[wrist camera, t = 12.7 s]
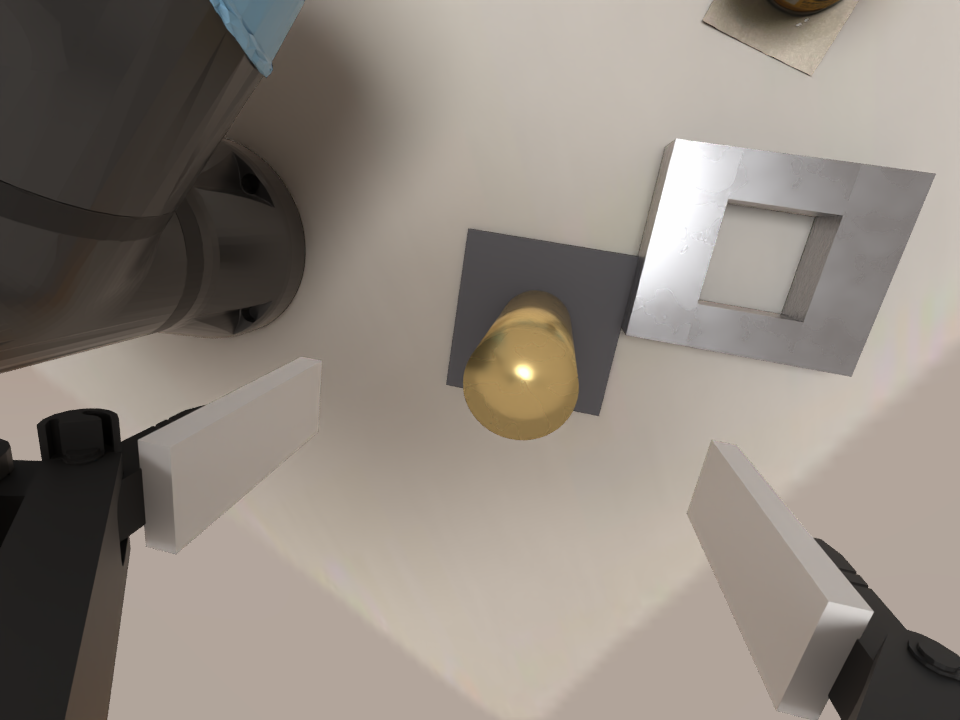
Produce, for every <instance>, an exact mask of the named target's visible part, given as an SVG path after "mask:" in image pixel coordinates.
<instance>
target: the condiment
mask: <svg viewBox="0 0 960 720" xmlns="http://www.w3.org/2000/svg"><path fill="white" fill-rule="evenodd" d="M858 1H859V0H713V2H712V4H711V6H710V8H709V10H708V11H707V13H706V15H705V17H704V19H703V21H704V22H706V23H708V24H710V25H712V26H714V27H715V28H717V29H718V30H720V31H722V32H724V33H726V34H728V35H730V36H732V37H734V38H736V39H738V40H739V41H741V42H743V43H745V44H747V45H749V46H751V47H753V48H755V49H757V50H760V51H761V52H763V53H764V54H765V55H769V56H772V57H774V58H776V59H778V60H780V61H782V62H784V63H786V64H788V65H789V66H791V67H794V68H797V69H799V70H801V71H803V72H805V73H807V74H809V75H812V74H813V72H814V71H815V69H816V68H817V66H818V65H819V63H820V62H821V60H822V58H823V57H824V55H825V53H826V52H827V50H828V49H829V47H830V46H831V44H832V43H833V41H834V40H835V38H836V36H837V34H838V33H839V31H840V29H841V28H842V26H843V25H844V23H845V22H846V20H847V19H848V17H849V15H850V14H851V12H852V11H853V9H854V7H855V6H856V4H857V2H858ZM807 18H809V20H808V21H807V22H805V21H804V20H805V19H807ZM798 23H802V25H800V26H796V25H797V24H798Z"/></svg>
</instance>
